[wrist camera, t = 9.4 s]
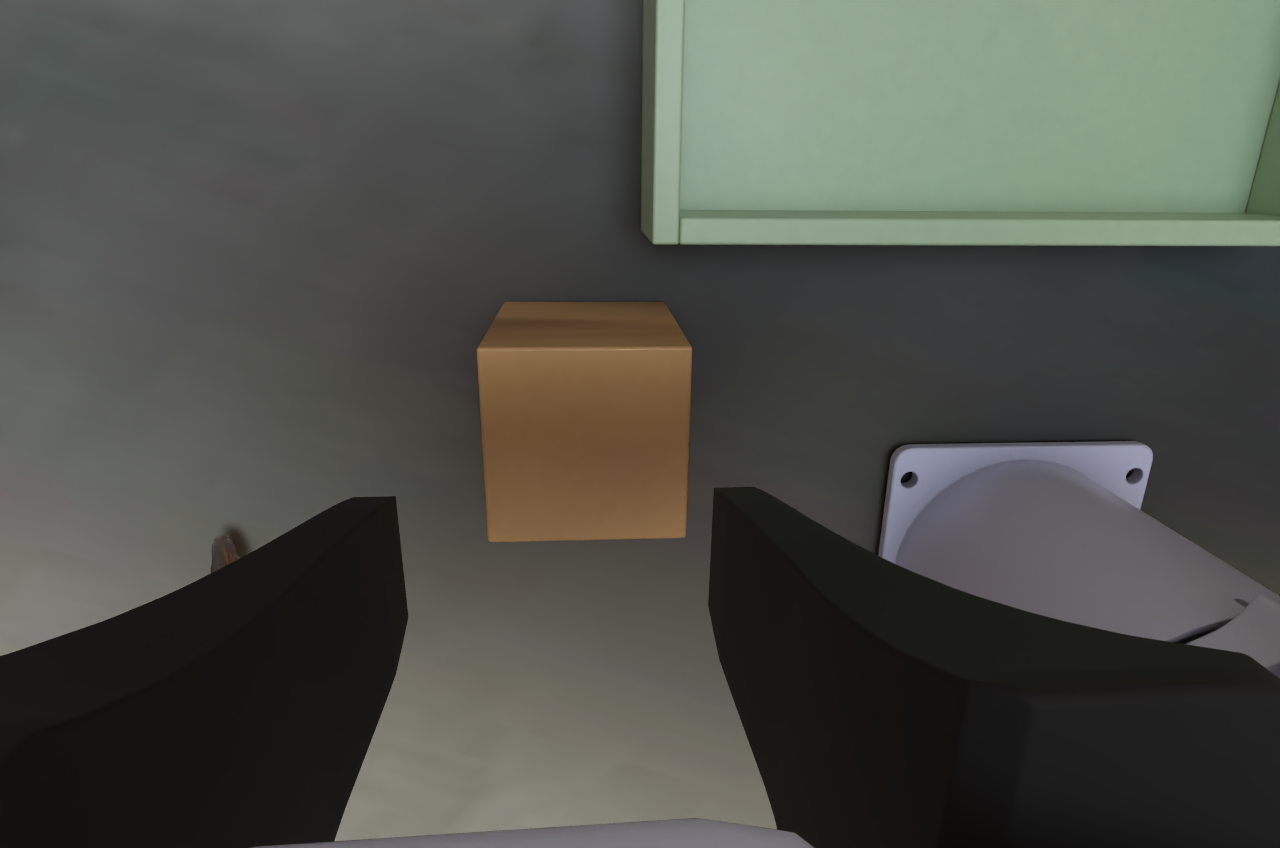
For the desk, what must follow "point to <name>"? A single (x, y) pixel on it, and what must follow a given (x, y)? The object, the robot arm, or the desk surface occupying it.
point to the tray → (961, 122)
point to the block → (585, 421)
